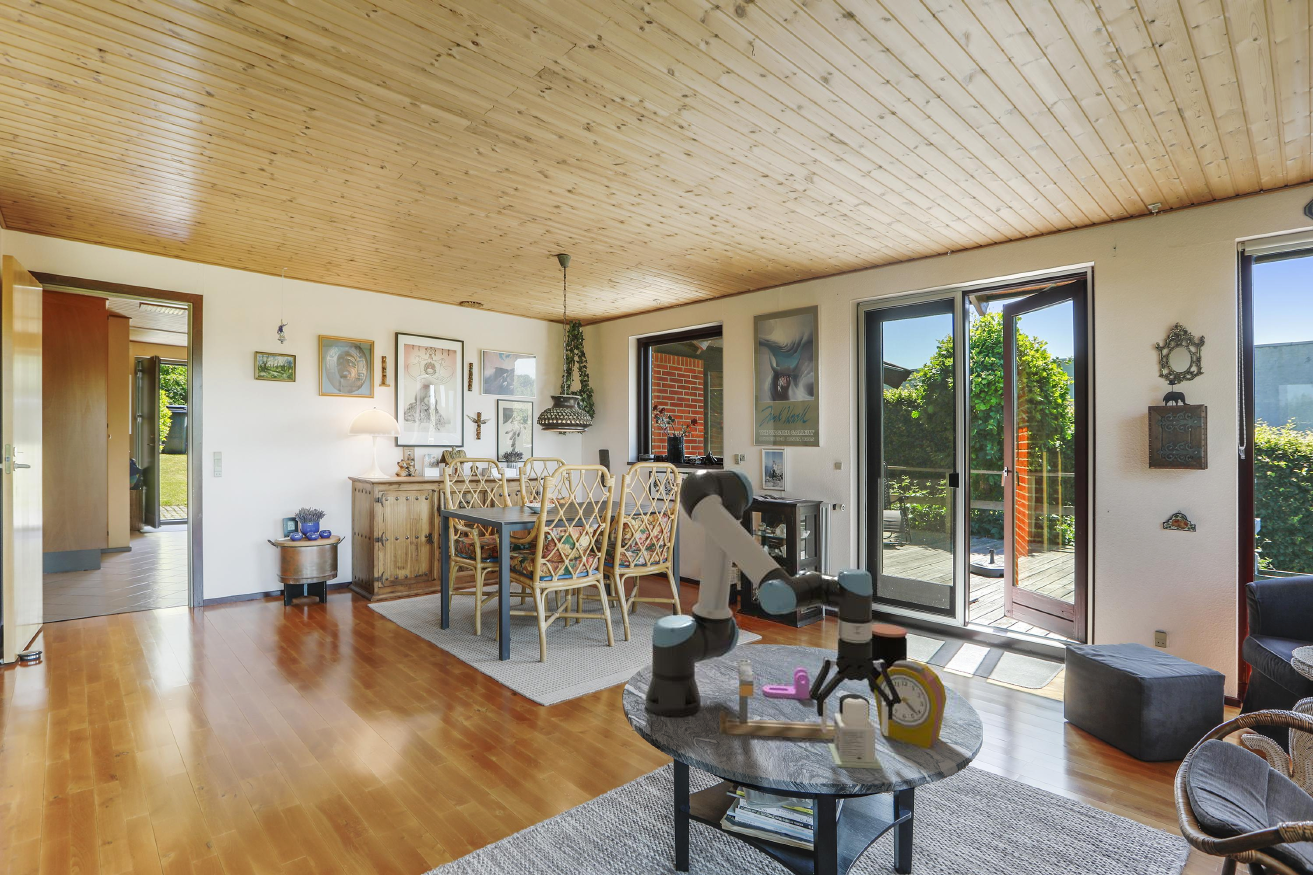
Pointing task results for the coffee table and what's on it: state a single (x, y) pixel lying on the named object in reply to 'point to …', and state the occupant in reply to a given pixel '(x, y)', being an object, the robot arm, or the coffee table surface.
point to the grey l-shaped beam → (744, 687)
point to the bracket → (791, 687)
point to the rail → (775, 728)
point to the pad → (852, 764)
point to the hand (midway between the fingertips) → (854, 731)
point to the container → (854, 730)
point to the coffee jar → (887, 646)
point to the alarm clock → (914, 703)
